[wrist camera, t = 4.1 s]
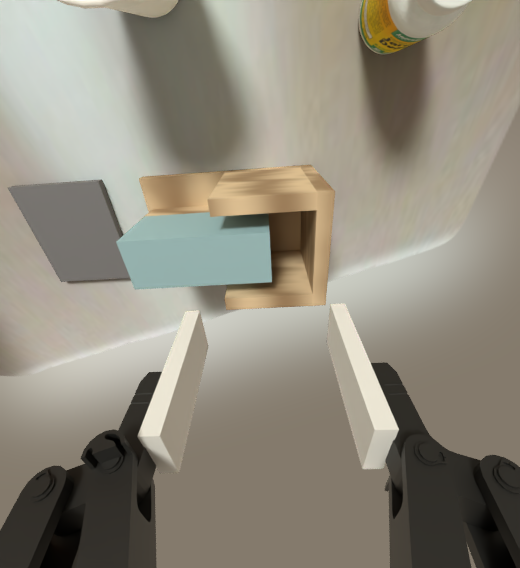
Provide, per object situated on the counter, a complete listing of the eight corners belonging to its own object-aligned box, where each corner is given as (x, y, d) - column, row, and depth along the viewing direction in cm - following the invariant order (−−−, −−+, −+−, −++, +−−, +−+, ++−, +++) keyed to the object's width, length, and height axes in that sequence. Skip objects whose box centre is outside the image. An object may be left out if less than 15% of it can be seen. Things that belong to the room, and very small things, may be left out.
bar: (157, 257, 28) (134, 289, 23) (144, 216, 26) (116, 241, 21) (270, 251, 28) (272, 282, 23) (268, 208, 25) (269, 232, 20)
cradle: (166, 259, 34) (130, 314, 25) (142, 176, 28) (84, 207, 19) (307, 251, 33) (325, 305, 24) (310, 164, 28) (335, 191, 18)
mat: (64, 278, 36) (60, 281, 35) (13, 186, 29) (7, 187, 28) (137, 274, 35) (134, 277, 34) (101, 179, 29) (97, 181, 28)
